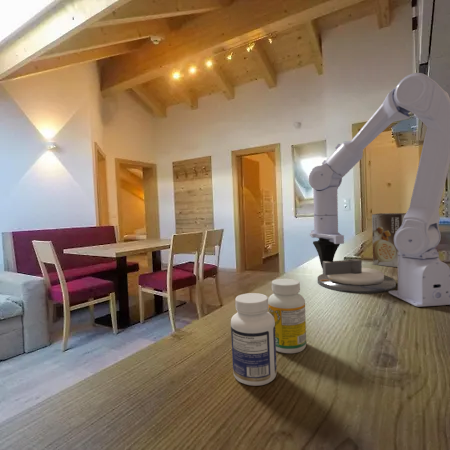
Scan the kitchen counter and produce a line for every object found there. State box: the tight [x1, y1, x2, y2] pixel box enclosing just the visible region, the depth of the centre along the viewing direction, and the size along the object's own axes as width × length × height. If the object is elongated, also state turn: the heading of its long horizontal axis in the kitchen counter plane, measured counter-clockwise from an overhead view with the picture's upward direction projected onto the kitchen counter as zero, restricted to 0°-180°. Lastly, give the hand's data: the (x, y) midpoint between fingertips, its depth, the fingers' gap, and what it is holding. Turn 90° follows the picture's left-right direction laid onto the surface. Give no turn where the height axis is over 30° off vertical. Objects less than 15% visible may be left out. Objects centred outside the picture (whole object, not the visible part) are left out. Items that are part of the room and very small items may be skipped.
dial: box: [322, 258, 385, 285], centre depth 78 cm, size 14×13×5 cm
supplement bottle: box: [267, 278, 307, 354], centre depth 46 cm, size 5×5×10 cm
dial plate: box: [317, 273, 397, 294], centre depth 78 cm, size 18×18×1 cm
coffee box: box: [371, 212, 407, 268], centre depth 97 cm, size 9×6×16 cm
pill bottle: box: [230, 292, 278, 387], centre depth 38 cm, size 5×5×10 cm
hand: (326, 268), depth 79 cm, fingers closed
